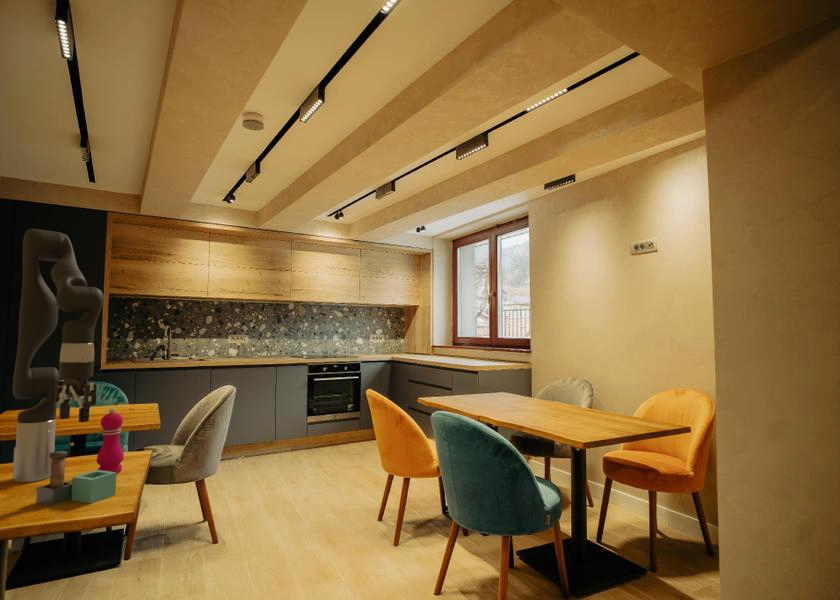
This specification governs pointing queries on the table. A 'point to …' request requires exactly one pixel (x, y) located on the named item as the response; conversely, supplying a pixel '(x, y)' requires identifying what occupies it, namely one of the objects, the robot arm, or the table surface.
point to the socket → (93, 486)
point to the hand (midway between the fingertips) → (73, 420)
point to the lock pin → (57, 469)
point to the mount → (54, 494)
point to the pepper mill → (111, 443)
